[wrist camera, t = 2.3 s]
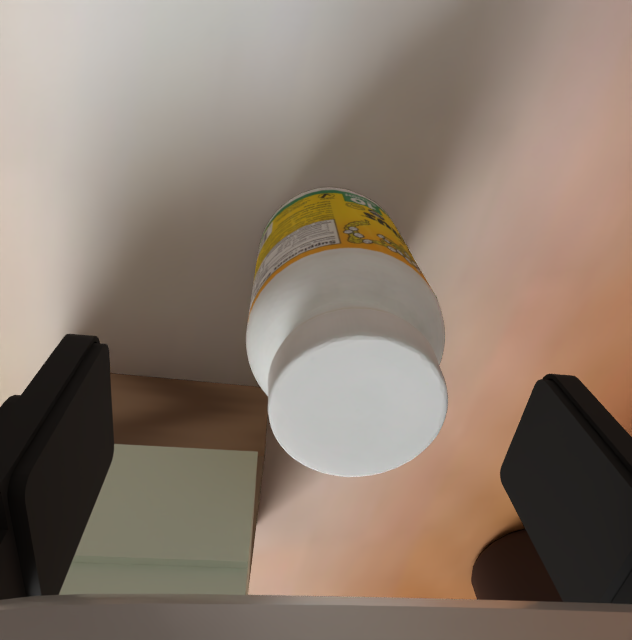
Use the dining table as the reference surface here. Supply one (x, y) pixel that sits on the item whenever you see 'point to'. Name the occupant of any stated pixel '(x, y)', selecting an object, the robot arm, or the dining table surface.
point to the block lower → (191, 417)
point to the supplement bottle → (345, 337)
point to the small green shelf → (169, 524)
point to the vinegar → (513, 572)
